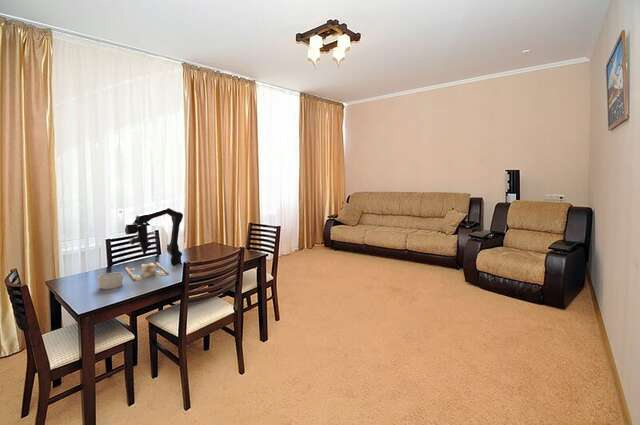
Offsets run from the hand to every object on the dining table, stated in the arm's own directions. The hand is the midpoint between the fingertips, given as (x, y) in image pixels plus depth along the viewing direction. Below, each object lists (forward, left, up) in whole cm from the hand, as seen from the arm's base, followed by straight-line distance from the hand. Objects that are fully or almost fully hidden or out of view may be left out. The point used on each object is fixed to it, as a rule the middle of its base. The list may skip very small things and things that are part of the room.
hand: (144, 254), depth 233 cm
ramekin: (+23, +21, -12) cm, 34 cm away
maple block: (0, +11, -12) cm, 16 cm away
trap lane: (0, +3, -12) cm, 12 cm away
